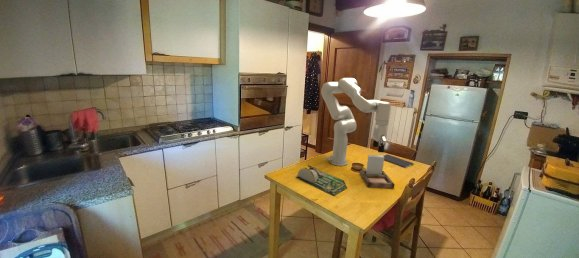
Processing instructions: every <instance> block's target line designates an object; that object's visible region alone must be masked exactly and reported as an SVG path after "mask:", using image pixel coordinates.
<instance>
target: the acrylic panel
mask: <svg viewBox="0 0 579 258" xmlns="http://www.w3.org/2000/svg"><path fill="white" fill-rule="evenodd" d="M366 162H367V163H366V168H365V170H366V174H370V175H382V171H384V170H383V169H384V163H385V161H384V155H378V154H367V161H366Z"/></svg>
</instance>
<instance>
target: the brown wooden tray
mask: <svg viewBox="0 0 579 258" xmlns="http://www.w3.org/2000/svg"><path fill="white" fill-rule="evenodd" d="M359 175H360V177H361V178H362V181H364V183H365V184H366V186H367V188H378V189H395V186H396V185H395V183H394V182H393V180H392V179H391V178H390V177H389V176H388V174H386V172H385V171H384V170H382V175H370V174H366V169H360V170H359ZM368 178H382V179H385V181H386V182H387V183H383V182H370V181H369V179H368Z"/></svg>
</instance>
